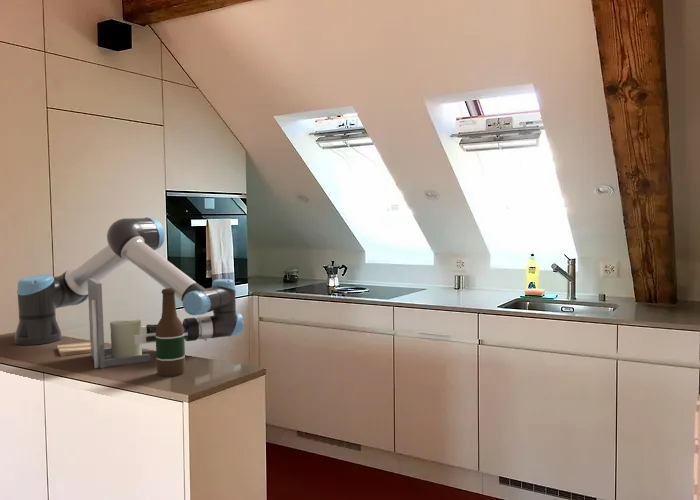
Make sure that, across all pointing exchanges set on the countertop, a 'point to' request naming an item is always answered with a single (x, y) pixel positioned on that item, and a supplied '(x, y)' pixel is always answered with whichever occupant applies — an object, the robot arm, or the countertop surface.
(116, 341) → the can
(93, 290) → the grey l-shaped stand
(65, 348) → the oak pad
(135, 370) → the countertop surface
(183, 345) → the beer bottle
